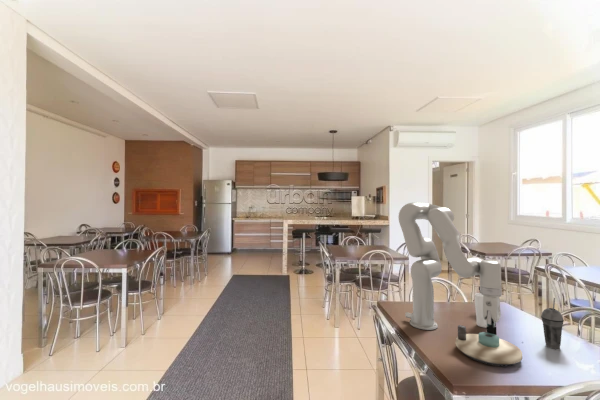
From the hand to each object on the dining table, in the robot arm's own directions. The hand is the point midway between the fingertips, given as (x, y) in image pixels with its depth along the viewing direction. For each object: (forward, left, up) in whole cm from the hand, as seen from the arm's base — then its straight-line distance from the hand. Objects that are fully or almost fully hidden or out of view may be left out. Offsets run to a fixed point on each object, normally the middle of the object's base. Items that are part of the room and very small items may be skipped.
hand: (491, 335), depth 124 cm
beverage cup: (+19, +17, -5) cm, 26 cm away
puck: (0, -5, -1) cm, 5 cm away
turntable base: (0, -8, -5) cm, 9 cm away
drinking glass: (-7, +23, -5) cm, 25 cm away
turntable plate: (0, -8, -3) cm, 8 cm away
